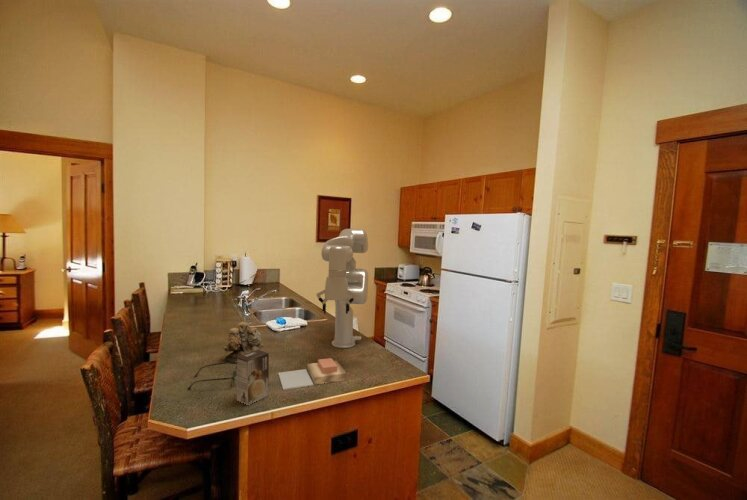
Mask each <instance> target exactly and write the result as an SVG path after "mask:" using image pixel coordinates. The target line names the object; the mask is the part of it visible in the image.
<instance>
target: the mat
mask: <svg viewBox="0 0 747 500" xmlns="http://www.w3.org/2000/svg"><path fill="white" fill-rule="evenodd" d="M278 378H279V381H280V384H281V387H282V390H283V391H288V390H289V391H290V390H295V389H302V387H303V388H308V386H309V387H314V386H315V385H314V383H313V381H312V379H311V377H310V375H309V374H308V372H307V368H305V369H297V370H290V371H289V370H288V371H282V372H278Z"/></svg>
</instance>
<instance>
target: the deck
mask: <svg viewBox="0 0 747 500" xmlns="http://www.w3.org/2000/svg"><path fill="white" fill-rule="evenodd" d="M333 361H334V362H335V363H336V365H337V372H332V373H324V374H323V373H322V371H321V370H320V368H319V366H318V362H313V363H307V365H306V366H307V367H306V370H307V372H308V374H309V376H310V378H311V380H312V382H313V384H314V386H317V384H319V385H324V383H325V384H331V382H332V383H336V382H337V383H338V382H343V381H344V382H345V381H347V372H346V371H345V370H344V369H343V367H342V366H341V364H340V363H339V362H338V360H333Z"/></svg>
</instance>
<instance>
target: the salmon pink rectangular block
mask: <svg viewBox="0 0 747 500" xmlns="http://www.w3.org/2000/svg"><path fill="white" fill-rule="evenodd" d="M334 361H335V360H333V358H331V357H328V358H321V359H317V363H318V366H319V368H320V370H321V371H322V373H323V374H324V373H332V372H337V365H336V363H335V362H334Z"/></svg>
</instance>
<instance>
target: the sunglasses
mask: <svg viewBox="0 0 747 500" xmlns="http://www.w3.org/2000/svg"><path fill="white" fill-rule="evenodd" d="M231 363H237V361H231V362H226V361H225V362H219V363H217V362H216V363H211V364H207V365H204V366H202V367H201V368H199V370H198V371H197V372H196V374H194V376H193V378H194V379H195V378H197V377H198V375H199V373H200V371H201V370H202V369H203V368H207V367H210V366H211V367H212V366H217V365H227V364H231ZM236 377H237V365H236V366H235V369H234V372H233V374H232V376H230V377H222V378H220V377H219V378H211V379H200V380H197V381H194V382H192V383H191V384H190V385H189V387H187V390H191V388H192V387H193V385H194V384H195V383H200V382H207V381H208V382H209V381H211V382H212V381H222V380H232V385H231V386H232V387H233V386H234V384H235V381H236Z"/></svg>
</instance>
